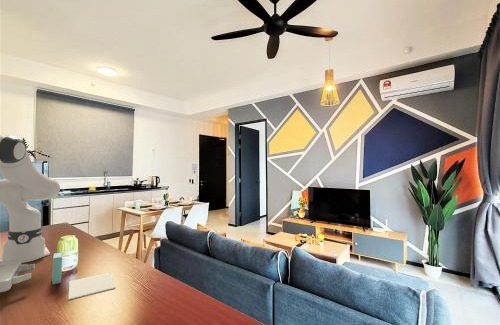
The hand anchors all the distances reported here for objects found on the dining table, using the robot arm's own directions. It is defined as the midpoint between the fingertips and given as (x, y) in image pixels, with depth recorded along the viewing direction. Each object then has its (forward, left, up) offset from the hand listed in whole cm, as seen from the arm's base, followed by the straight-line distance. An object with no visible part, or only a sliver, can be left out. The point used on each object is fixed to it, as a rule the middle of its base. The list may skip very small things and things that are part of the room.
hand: (33, 270), depth 90 cm
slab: (0, +7, -6) cm, 9 cm away
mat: (+12, +18, -5) cm, 22 cm away
